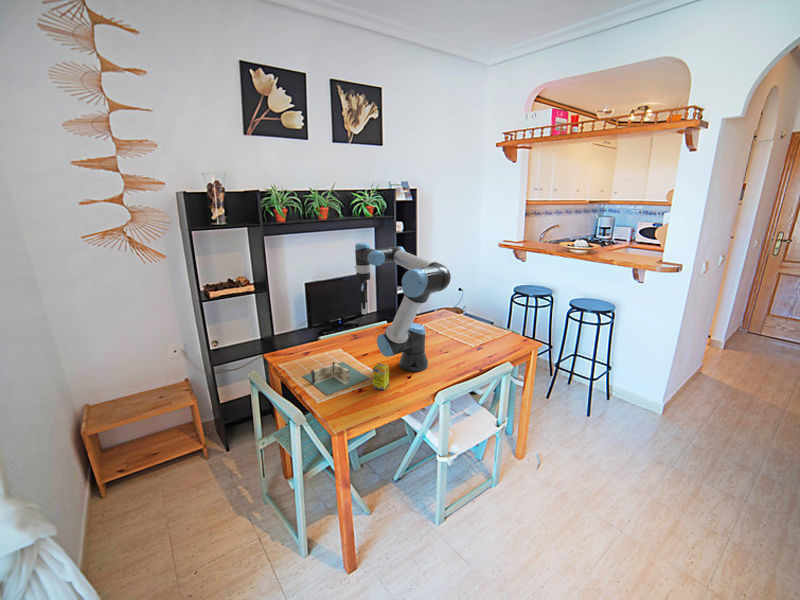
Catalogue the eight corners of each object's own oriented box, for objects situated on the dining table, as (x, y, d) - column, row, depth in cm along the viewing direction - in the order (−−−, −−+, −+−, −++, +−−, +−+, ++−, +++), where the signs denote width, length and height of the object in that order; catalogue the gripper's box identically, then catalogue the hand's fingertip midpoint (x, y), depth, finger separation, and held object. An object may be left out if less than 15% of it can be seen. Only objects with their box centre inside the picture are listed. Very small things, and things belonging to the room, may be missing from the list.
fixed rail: (331, 375, 189) (330, 363, 187) (333, 376, 188) (332, 364, 186) (311, 382, 182) (310, 370, 180) (313, 384, 181) (312, 371, 179)
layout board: (369, 378, 187) (369, 377, 187) (327, 395, 172) (327, 394, 172) (343, 362, 204) (342, 361, 204) (302, 376, 189) (302, 375, 189)
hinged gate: (332, 374, 189) (331, 362, 187) (334, 373, 190) (334, 361, 188) (347, 382, 182) (346, 369, 180) (349, 381, 183) (349, 368, 181)
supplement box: (372, 388, 178) (372, 368, 174) (378, 382, 183) (377, 362, 180) (384, 391, 176) (384, 370, 172) (389, 385, 181) (389, 364, 178)
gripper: (357, 269, 206) (358, 309, 213) (354, 274, 193) (356, 317, 200) (371, 269, 206) (372, 310, 213) (369, 275, 193) (370, 318, 200)
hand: (364, 313), depth 207 cm, fingers closed
